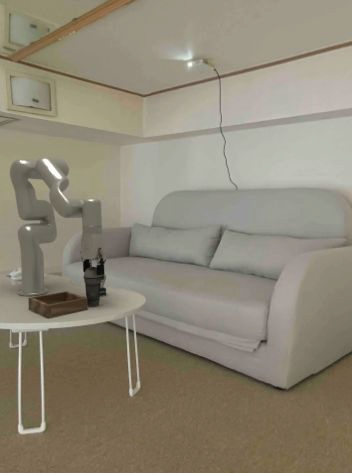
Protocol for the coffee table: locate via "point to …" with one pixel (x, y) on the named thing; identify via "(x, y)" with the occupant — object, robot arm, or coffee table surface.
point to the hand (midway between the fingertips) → (93, 273)
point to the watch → (102, 289)
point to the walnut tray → (58, 304)
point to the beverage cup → (92, 285)
